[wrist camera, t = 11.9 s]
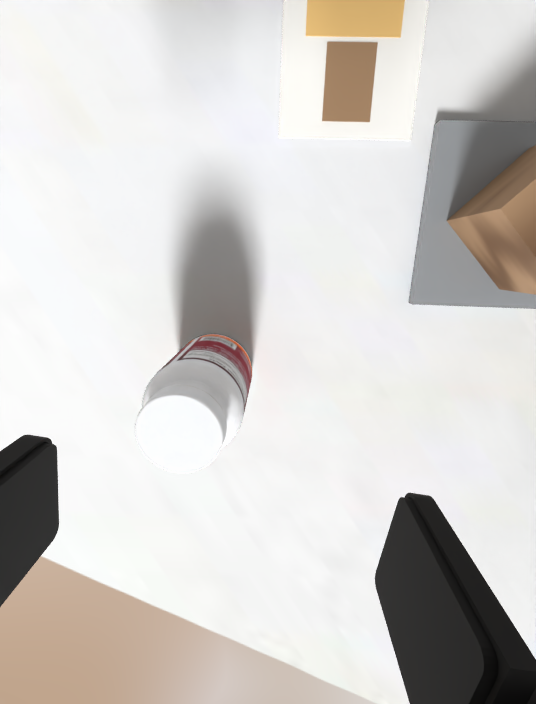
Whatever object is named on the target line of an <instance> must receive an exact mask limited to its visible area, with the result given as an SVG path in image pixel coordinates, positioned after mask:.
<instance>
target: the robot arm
mask: <svg viewBox="0 0 536 704" xmlns="http://www.w3.org/2000/svg"><path fill="white" fill-rule="evenodd" d="M58 527H59V511H58V472H57V447H56V446H55V445H54V444H52V441H51V440H50V439H49V438H46V437H39V436H33V435H24V436H22V437H20V438H19V439H17V440H16V441H14V442H13V443H12V444H10V445H9V446H7V447H6V448H4V449H3V450H2V451H0V607H1V605H2V604H3V603H4V601H5V600H6V599H7V598H8V596H9V595H10V594H11V593H12V591H13V590H14V589H15V588H16V586H17V585H18V584H19V583H20V581H21V580H22V579H23V578H24V576H25V575H26V574H27V572H28V571H29V570H30V569H31V567H32V566H33V565H34V564H35V562H36V561H37V560H38V559H39V557H40V556H41V555H42V554H43V552H44V551H45V550H46V549H47V547H48V546H49V545H50V544H51V542H52V541H53V539H54V538H55V536H56V534H57V531H58ZM375 584H376V590H377V593H378V596H379V600H380V603H381V607H382V610H383V613H384V617H385V620H386V624H387V627H388V630H389V634H390V637H391V641H392V644H393V648H394V651H395V654H396V658H397V661H398V665H399V668H400V671H401V675H402V678H403V682H404V685H405V688H406V692H407V695H408V699H409V702H410V704H536V659H535V658H534V656H533V655H532V653H531V651H530V650H529V648H528V647H527V645H526V644H525V642H524V640H523V639H522V637H521V636H520V634H519V633H518V631H517V629H516V628H515V626H514V625H513V623H512V622H511V620H510V618H509V617H508V615H507V614H506V612H505V611H504V609H503V607H502V606H501V604H500V603H499V601H498V600H497V598H496V596H495V595H494V593H493V592H492V590H491V589H490V587H489V585H488V584H487V582H486V581H485V579H484V578H483V576H482V574H481V573H480V571H479V570H478V568H477V567H476V565H475V563H474V562H473V560H472V559H471V557H470V556H469V554H468V553H467V551H466V549H465V548H464V546H463V545H462V543H461V542H460V540H459V538H458V537H457V535H456V534H455V532H454V531H453V529H452V527H451V526H450V524H449V523H448V521H447V520H446V518H445V516H444V515H443V513H442V512H441V510H440V509H439V507H438V505H437V504H436V502H435V501H434V499H433V498H432V497H431V496H427V495H421V494H414V493H407V494H406V496H405V498H403V497H401V498H400V499H399V501H398V503H397V506H396V510H395V513H394V516H393V519H392V522H391V526H390V529H389V532H388V535H387V538H386V541H385V545H384V548H383V551H382V554H381V557H380V560H379V564H378V567H377V570H376V574H375Z"/></svg>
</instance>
